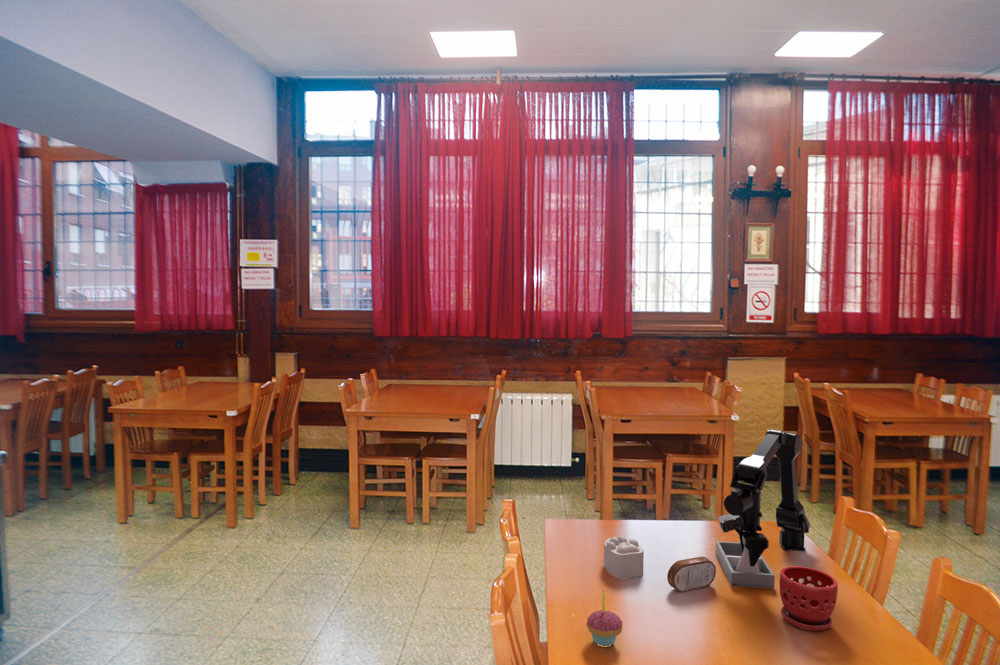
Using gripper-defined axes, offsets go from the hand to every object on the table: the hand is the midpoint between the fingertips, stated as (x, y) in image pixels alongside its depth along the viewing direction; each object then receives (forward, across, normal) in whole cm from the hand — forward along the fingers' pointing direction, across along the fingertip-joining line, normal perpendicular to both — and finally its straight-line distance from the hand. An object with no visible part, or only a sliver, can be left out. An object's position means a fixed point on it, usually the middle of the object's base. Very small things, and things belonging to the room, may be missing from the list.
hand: (748, 559), depth 182 cm
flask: (+5, 0, 0) cm, 5 cm away
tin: (+6, +9, -17) cm, 20 cm away
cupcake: (+6, +40, -42) cm, 58 cm away
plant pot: (+6, +23, +9) cm, 25 cm away
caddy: (+6, -5, 0) cm, 8 cm away
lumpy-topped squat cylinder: (+6, -1, -36) cm, 37 cm away
